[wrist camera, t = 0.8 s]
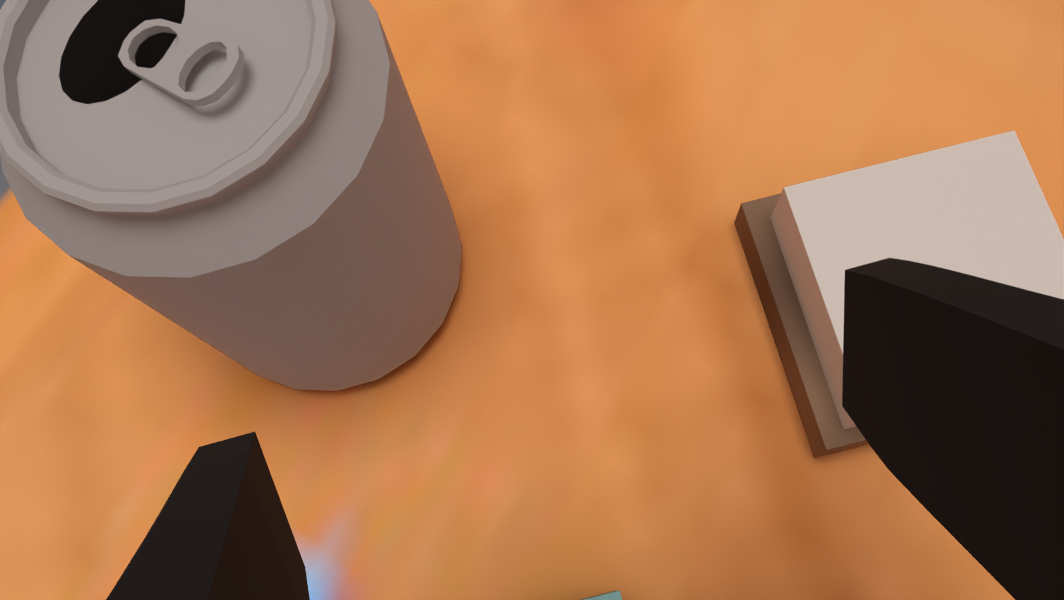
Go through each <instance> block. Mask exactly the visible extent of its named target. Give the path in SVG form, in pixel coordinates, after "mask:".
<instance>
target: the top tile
mask: <svg viewBox="0 0 1064 600" xmlns="http://www.w3.org/2000/svg"><path fill="white" fill-rule="evenodd" d="M770 219H771V222H772V225H773V228H774V230H775V233H776V236H777V239H778V242H779V245H780V248H781V251H782V254H783V257H784V259H785V262H786V265H787V268H788V271H789V274H790V277H791V280H792V283H793V285H794V288H795V291H796V294H797V297H798V300H799V303H800V306H801V309H802V311H803V314H804V317H805V320H806V323H807V326H808V329H809V332H810V335H811V337H812V340H813V343H814V346H815V349H816V352H817V355H818V358H819V361H820V363H821V366H822V369H823V372H824V375H825V378H826V381H827V384H828V387H829V389H830V392H831V395H832V398H833V401H834V404H835V407H836V410H837V413H838V415H839V418H840V421H841V424H842V427H843V430H845V429H849V428H853V427H857V426H856V425H855V424H854V422H853V421H852V419H851V418H850V416H849V415H848V414H847V412H846V411H845V409H844V408H843V406H842V385H843V335H844V284H845V270H846V269H850V268H854V267H857V266H861V265H865V264H868V263H872V262H876V261H879V260H883V259H887V258H895V259H901V260H907V261H913V262H918V263H922V264H927V265H931V266H936V267H940V268H944V269H948V270H952V271H956V272H960V273H964V274H968V275H972V276H976V277H980V278H984V279H987V280H991V281H995V282H999V283H1003V284H1006V285H1010V286H1014V287H1018V288H1022V289H1025V290H1029V291H1033V292H1037V293H1041V294H1045V295H1048V296H1052V297H1056V298H1060V299H1064V239H1063V236H1062V234H1061V232H1060V230H1059V228H1058V225H1057V223H1056V221H1055V219H1054V217H1053V214H1052V212H1051V210H1050V208H1049V206H1048V203H1047V201H1046V199H1045V197H1044V195H1043V192H1042V190H1041V188H1040V186H1039V183H1038V181H1037V179H1036V177H1035V175H1034V172H1033V170H1032V168H1031V166H1030V164H1029V161H1028V159H1027V157H1026V155H1025V153H1024V150H1023V148H1022V146H1021V144H1020V142H1019V139H1018V137H1017V135H1016V133H1015V131H1010V132H1006V133H1002V134H998V135H994V136H990V137H986V138H982V139H978V140H974V141H970V142H965V143H961V144H957V145H953V146H949V147H945V148H941V149H937V150H933V151H929V152H925V153H921V154H917V155H913V156H909V157H905V158H901V159H897V160H893V161H889V162H885V163H881V164H877V165H873V166H869V167H864V168H860V169H856V170H852V171H848V172H844V173H840V174H836V175H832V176H828V177H824V178H820V179H816V180H812V181H808V182H804V183H800V184H796V185H792V186H788V187H784V188H783V190H782V193H781V195H780V197H779V199H778V202H777V204H776V206H775V208H774V211H773V213H772V215H771V217H770Z"/></svg>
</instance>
